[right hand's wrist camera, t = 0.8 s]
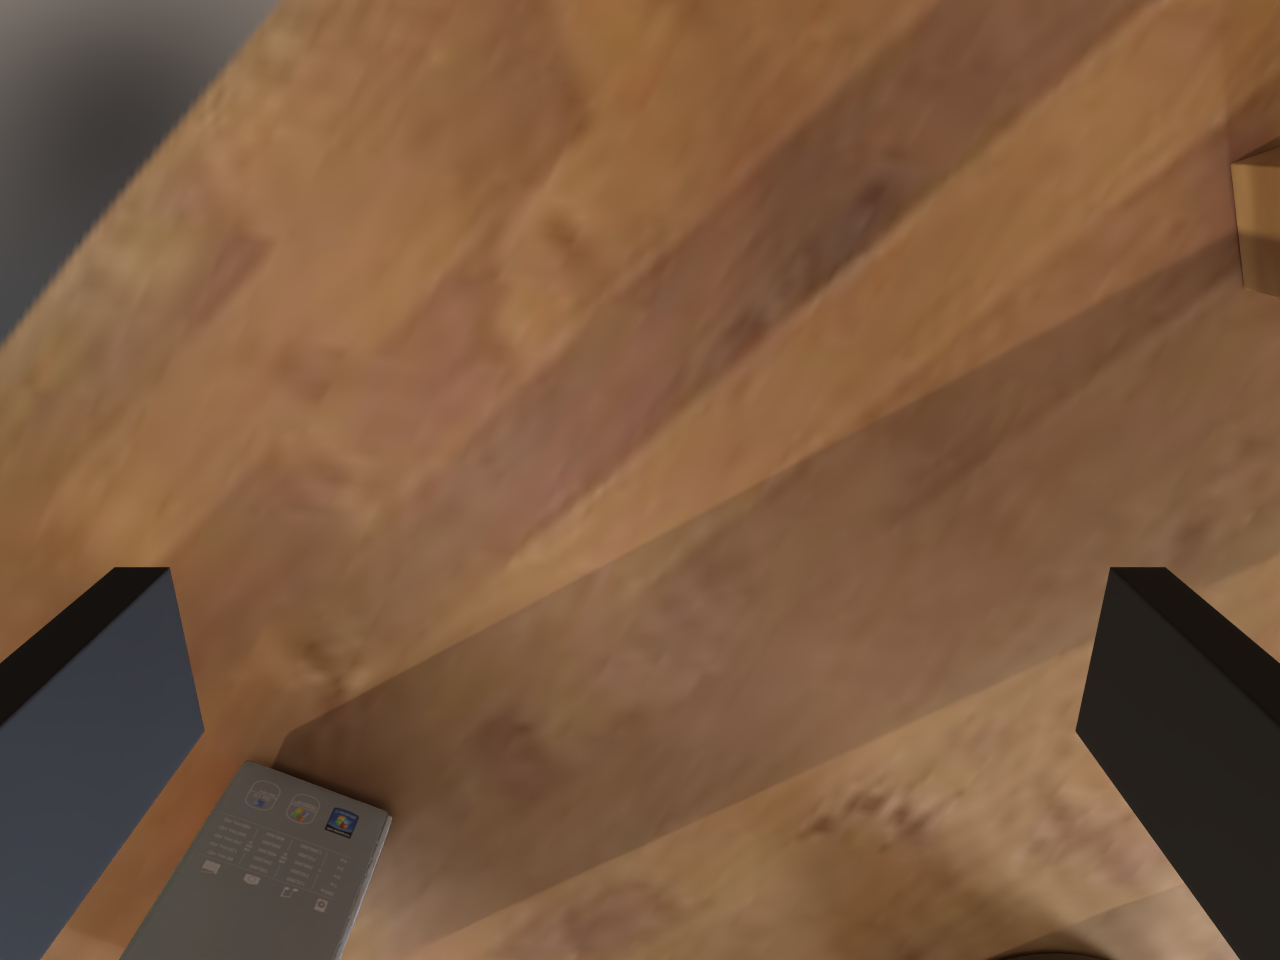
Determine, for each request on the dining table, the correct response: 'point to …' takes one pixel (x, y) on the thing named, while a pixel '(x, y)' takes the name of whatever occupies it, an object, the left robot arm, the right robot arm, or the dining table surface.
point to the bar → (1259, 220)
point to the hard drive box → (267, 875)
